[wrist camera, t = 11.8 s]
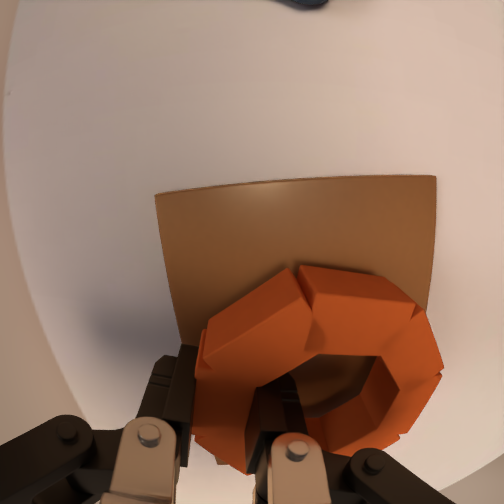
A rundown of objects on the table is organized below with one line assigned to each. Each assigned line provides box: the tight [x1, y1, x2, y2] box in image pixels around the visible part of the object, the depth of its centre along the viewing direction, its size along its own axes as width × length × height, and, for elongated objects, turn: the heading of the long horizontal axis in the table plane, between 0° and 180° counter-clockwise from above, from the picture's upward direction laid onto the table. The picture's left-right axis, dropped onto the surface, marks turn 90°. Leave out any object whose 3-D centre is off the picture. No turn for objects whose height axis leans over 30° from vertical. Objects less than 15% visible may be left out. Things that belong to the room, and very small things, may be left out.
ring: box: [192, 265, 444, 475], centre depth 10 cm, size 8×8×2 cm
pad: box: [154, 175, 436, 465], centre depth 12 cm, size 14×10×1 cm
